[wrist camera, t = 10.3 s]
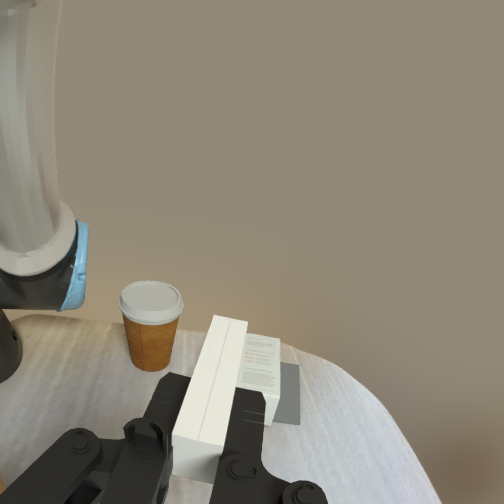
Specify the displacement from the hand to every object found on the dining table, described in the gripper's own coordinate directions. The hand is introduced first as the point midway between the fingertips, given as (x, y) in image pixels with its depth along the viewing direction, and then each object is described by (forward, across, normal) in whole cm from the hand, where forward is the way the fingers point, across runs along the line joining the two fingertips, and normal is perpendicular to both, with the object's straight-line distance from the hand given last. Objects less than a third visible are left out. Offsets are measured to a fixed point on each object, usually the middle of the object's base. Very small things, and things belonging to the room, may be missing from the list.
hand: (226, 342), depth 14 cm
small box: (+16, +3, -24) cm, 29 cm away
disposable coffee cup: (+26, -13, -27) cm, 40 cm away
